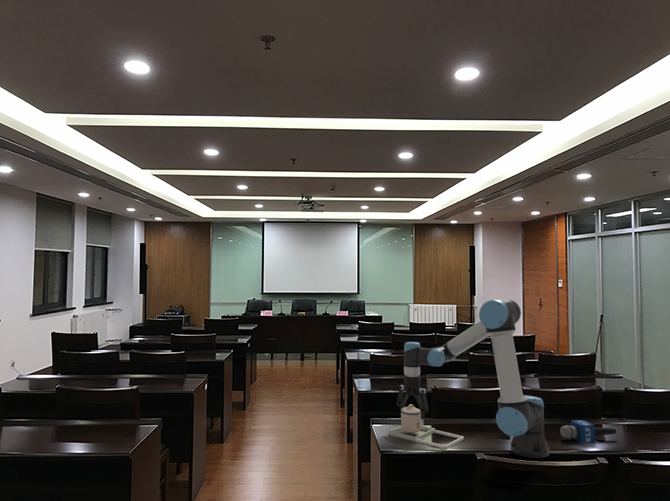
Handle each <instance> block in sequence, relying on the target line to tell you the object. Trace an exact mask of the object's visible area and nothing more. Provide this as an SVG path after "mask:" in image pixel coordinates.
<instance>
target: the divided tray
mask: <svg viewBox="0 0 670 501" xmlns="http://www.w3.org/2000/svg"><path fill="white" fill-rule="evenodd" d="M420 429H422V431H425V430H427V431H425V432H423V433H421V434H418V435H416V436H413V435H409V434H405V433H402V432H401V431H403V430H402V425H400V426H398V427H395V428H392V429H390V430H389V431H388V436H392V437H396V438H400V439H404V440H408V441H412V442H415V443H419V444H424V445H426V446H430V447H434V446H435V447H434V448H438V447H440V448H439V449H442V448H445V449H444V450H447V449H449V448H451V447H452V446H454V445H456V444H458V443H460V442H462V441H463V440H465V436H463V435H459V434H455V433H451V432H447V431H442V430H436V428H434V427H429V426H425V425H423V426H421V427H420ZM433 434H438V435H442V436H446V437H450V438H453V439H454V438H455V440H453V441H451V442H450V443H448V444H446V445H443V444H440V443H436V442H431V441H429V440H424V438H427V437H428V436H431V435H433ZM446 448H447V449H446Z"/></svg>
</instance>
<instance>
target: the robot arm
mask: <svg viewBox="0 0 670 501" xmlns="http://www.w3.org/2000/svg"><path fill="white" fill-rule="evenodd" d="M478 311H479V314H478V317H479V318H478V319H479V321H478V322H476V323H475V324H473V325H472V326H470V327H469V328H467V329H466V330H464V331H463V332H461V333H460V334H458V335H456V336H455V337H453V338H452V339H450V340H449V341H447V342H446V343H444V344H442V345H441V346H437V347H431V348H429V347H428V348H427V347H421V344H420V342H417V341H407V342H405V343H404V344H403V345H404V346H403V347H404V348H403V358H404V359H403V362H404V364H403V374H404V376H403V383H404V385H403V384H401V385H398V394H397V399H396V403H395V406H396V407H399V414H400V423H402V412H401V410H402V409H403V408H406V406H405V405H406V403H407V401H408V399H409V397H410V396H411V397H413V398H414V399H415V401H416V404H417V406H418V409H419V410H420V412H419V427H421V426H424V420H425V419H426V414H425V413H426V412H429V404H428V400H427V389H426V388H421V376H420V375H421V365H425V366H430V367H431V366H432V367H441V366H443V365H444V363H449V362H452V361H453V360H455V359H456V358H457V356H459V355H461V354H462V353H463V352H464V353H465V352H466V351H467V350H468V349H470V348H472V347H474V346H475V345H476V344H478V343H480V342H481V341H483V340H485V339H486V338H488V337H490V339H491V345H492V350H493V351H492V352H493V358H494V362H495V363H494V364H495V368H496V374H497V375H496V377H497V380H498V381H497V382H498V388H499V393H500V397H499V398H498V399H497V405H498V410H497V413H496V416H495V422H496V425H497V426H498V428H499V429H500V431H502V432H503V433H504V434H505V435H507V436H509V437H512V438H511V441H510V445H509V446H510V447H509V448H510V449H511V450H510V452H512V451H513V452H514V453H513V452H512V453H513V454H515V455H518V456H520V457H524V458H530V459H543V458H547V457H548V456H549V455H550V450H549V445H548V443H547V439H546V437H545V413H544V408H545V405H544V401H543V399H542V398H541V397H537V396H532V395H524V393H523V387H522V383H521V382H522V381H521V377H520V370H519V366H518V365H519V364H518V360H517V353H516V347H515V341H514V336H513V335H514V333H516V331H517V330H516V324H517V323H518V322H519V320H520V318H521V315H522V311H521V308H520V306H519V304H518V303H517V302H516V301H514V300H513V299H511V298H494V299H489V300H488V301H485V302H484V303H483V304H482V305H481V307H480V308H479V310H478ZM404 391H405V392H404Z"/></svg>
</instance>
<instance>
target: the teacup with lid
mask: <svg viewBox="0 0 670 501" xmlns="http://www.w3.org/2000/svg"><path fill="white" fill-rule="evenodd" d="M401 412H402V422H401V426H402V430H401V431H403V432H404V433H405V432H406V433H411V434H414V433H419V432H420V431H421V430H420V427H419V412H421V411H420V409H419V408H416V407H415V406H414V404H408V406H405V408H403V409H402V410H401Z"/></svg>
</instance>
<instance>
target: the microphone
mask: <svg viewBox="0 0 670 501" xmlns="http://www.w3.org/2000/svg"><path fill="white" fill-rule="evenodd" d="M559 432H560V435H561V436H562V438H565V439H569V440H571V439H574V440H575V441H577V442H579V443H580V444H591V443H592V444H593V443H595V442H596V439H595V436H605V435H606V436H607V435H614V434H617V429H616V428H612V427H595V424H593V423H591V422H589V421H587V420H585V419H584V420H583V419H581V420H577V419H576V420H575V419H574V420H571V422H570V425H569V424H566V425H563V426H561V427H560V429H559Z"/></svg>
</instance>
